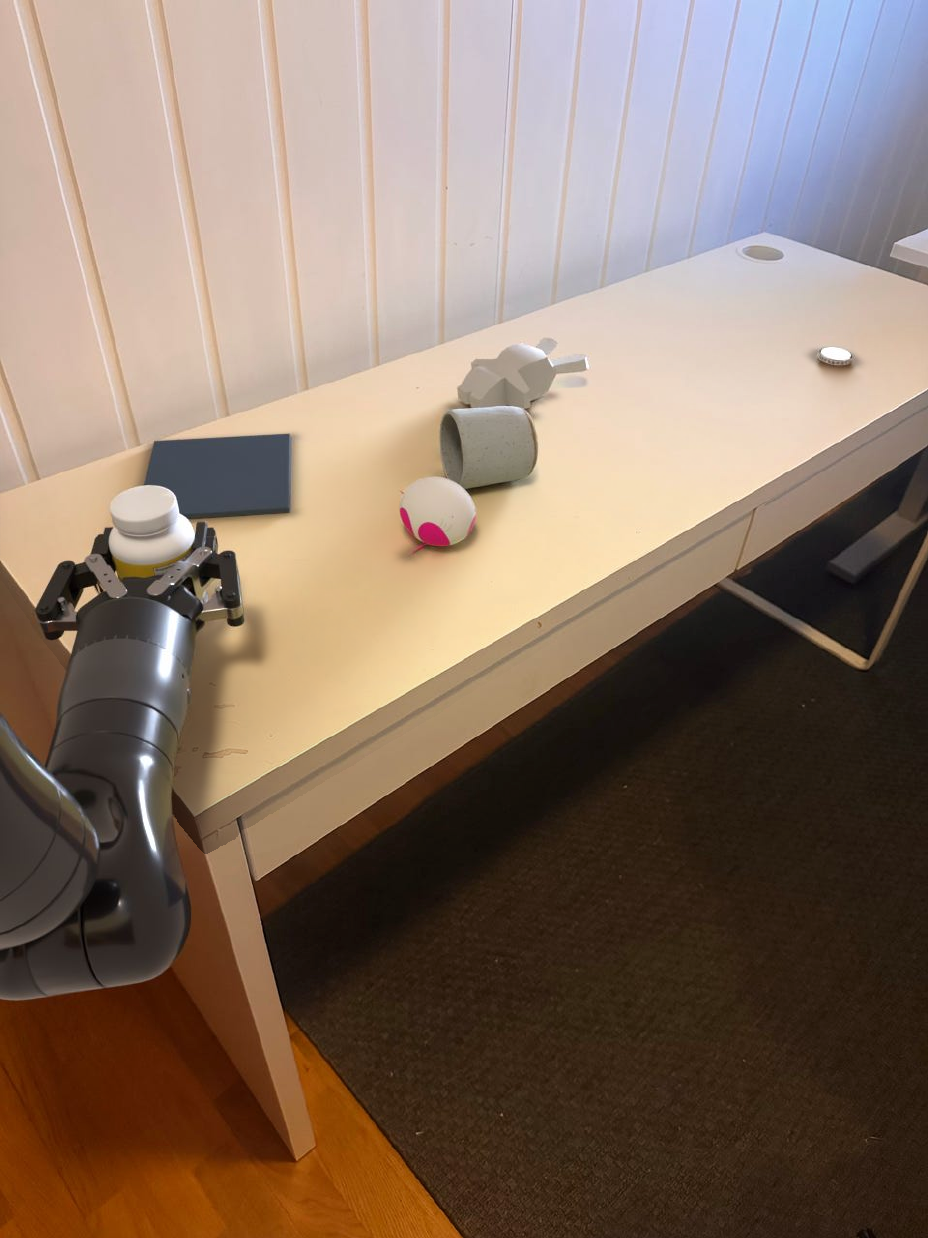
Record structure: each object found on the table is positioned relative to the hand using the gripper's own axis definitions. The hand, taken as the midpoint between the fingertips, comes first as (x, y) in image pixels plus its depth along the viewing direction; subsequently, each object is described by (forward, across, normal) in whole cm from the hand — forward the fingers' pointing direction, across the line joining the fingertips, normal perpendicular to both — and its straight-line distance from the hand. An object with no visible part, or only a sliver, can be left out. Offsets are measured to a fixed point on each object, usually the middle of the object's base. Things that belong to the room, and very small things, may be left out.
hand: (158, 534), depth 69 cm
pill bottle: (-2, 0, +7) cm, 7 cm away
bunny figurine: (+34, -35, +7) cm, 49 cm away
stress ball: (+7, -22, +7) cm, 24 cm away
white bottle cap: (+39, -76, +7) cm, 86 cm away
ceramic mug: (+18, -28, +7) cm, 34 cm away
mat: (+20, -2, +7) cm, 21 cm away
